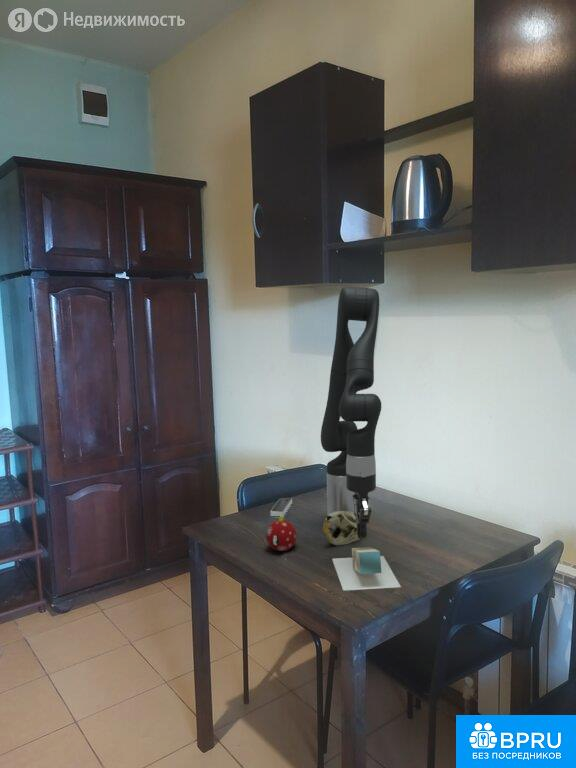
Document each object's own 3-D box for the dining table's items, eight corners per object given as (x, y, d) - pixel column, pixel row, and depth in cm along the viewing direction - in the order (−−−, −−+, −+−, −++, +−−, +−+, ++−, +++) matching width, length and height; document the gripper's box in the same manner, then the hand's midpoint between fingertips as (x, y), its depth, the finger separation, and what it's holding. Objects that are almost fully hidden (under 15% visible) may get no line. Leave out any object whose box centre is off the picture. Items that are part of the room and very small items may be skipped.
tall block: (351, 548, 149) (359, 552, 139) (370, 547, 150) (379, 551, 139) (353, 568, 149) (360, 574, 138) (372, 567, 149) (381, 573, 138)
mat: (332, 560, 155) (332, 558, 155) (383, 557, 156) (383, 555, 156) (343, 592, 137) (343, 590, 137) (401, 589, 138) (401, 587, 138)
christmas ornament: (302, 546, 165) (301, 513, 163) (288, 558, 157) (287, 523, 156) (275, 542, 168) (274, 509, 167) (261, 553, 161) (260, 518, 160)
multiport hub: (270, 518, 189) (270, 511, 189) (280, 503, 203) (280, 497, 203) (283, 518, 188) (283, 512, 188) (292, 504, 202) (292, 498, 202)
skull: (307, 540, 164) (314, 506, 164) (342, 540, 175) (349, 507, 176) (333, 551, 157) (340, 515, 157) (367, 550, 168) (374, 516, 169)
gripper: (342, 465, 153) (343, 527, 155) (351, 478, 140) (352, 547, 142) (369, 463, 154) (370, 526, 156) (381, 477, 141) (382, 545, 143)
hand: (361, 536), depth 149 cm, fingers closed
